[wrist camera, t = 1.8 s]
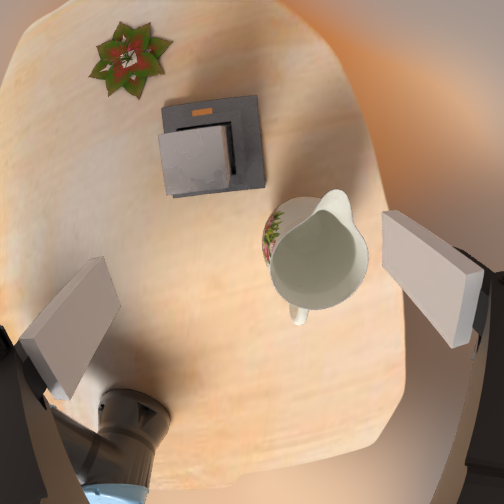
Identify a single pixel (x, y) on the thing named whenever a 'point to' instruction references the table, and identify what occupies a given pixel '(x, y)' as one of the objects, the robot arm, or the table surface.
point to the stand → (241, 130)
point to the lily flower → (141, 69)
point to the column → (196, 159)
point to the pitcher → (314, 252)
